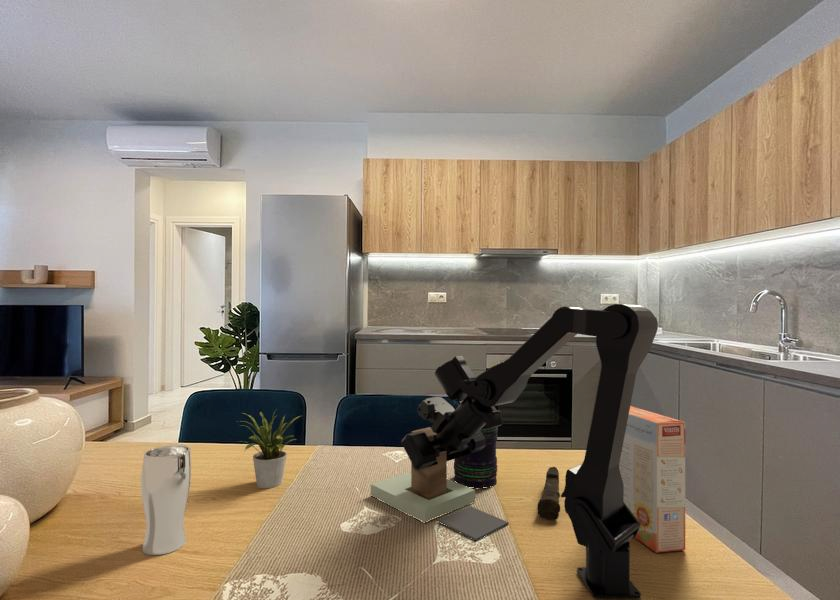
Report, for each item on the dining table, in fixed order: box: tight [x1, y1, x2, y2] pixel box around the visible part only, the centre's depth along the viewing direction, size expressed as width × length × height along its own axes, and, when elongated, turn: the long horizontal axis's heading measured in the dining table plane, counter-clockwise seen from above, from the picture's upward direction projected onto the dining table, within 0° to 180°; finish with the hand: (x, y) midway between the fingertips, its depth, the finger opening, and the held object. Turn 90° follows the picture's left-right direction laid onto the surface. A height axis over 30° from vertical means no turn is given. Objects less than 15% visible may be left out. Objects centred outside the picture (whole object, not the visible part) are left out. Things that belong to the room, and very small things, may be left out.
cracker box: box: [619, 405, 686, 554], centre depth 78 cm, size 14×6×21 cm, turn 12°
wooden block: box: [410, 426, 448, 500], centre depth 89 cm, size 5×5×14 cm
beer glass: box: [140, 444, 192, 556], centre depth 72 cm, size 7×7×15 cm
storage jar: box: [453, 424, 499, 488], centre depth 102 cm, size 10×10×15 cm
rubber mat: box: [437, 505, 509, 542], centre depth 80 cm, size 9×9×1 cm
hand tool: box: [536, 466, 561, 521], centre depth 91 cm, size 19×4×5 cm, turn 158°
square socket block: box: [370, 471, 476, 522], centre depth 91 cm, size 16×14×2 cm
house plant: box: [235, 409, 303, 489], centre depth 98 cm, size 14×14×16 cm
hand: (424, 465), depth 90 cm, fingers closed on wooden block, 5 cm apart
